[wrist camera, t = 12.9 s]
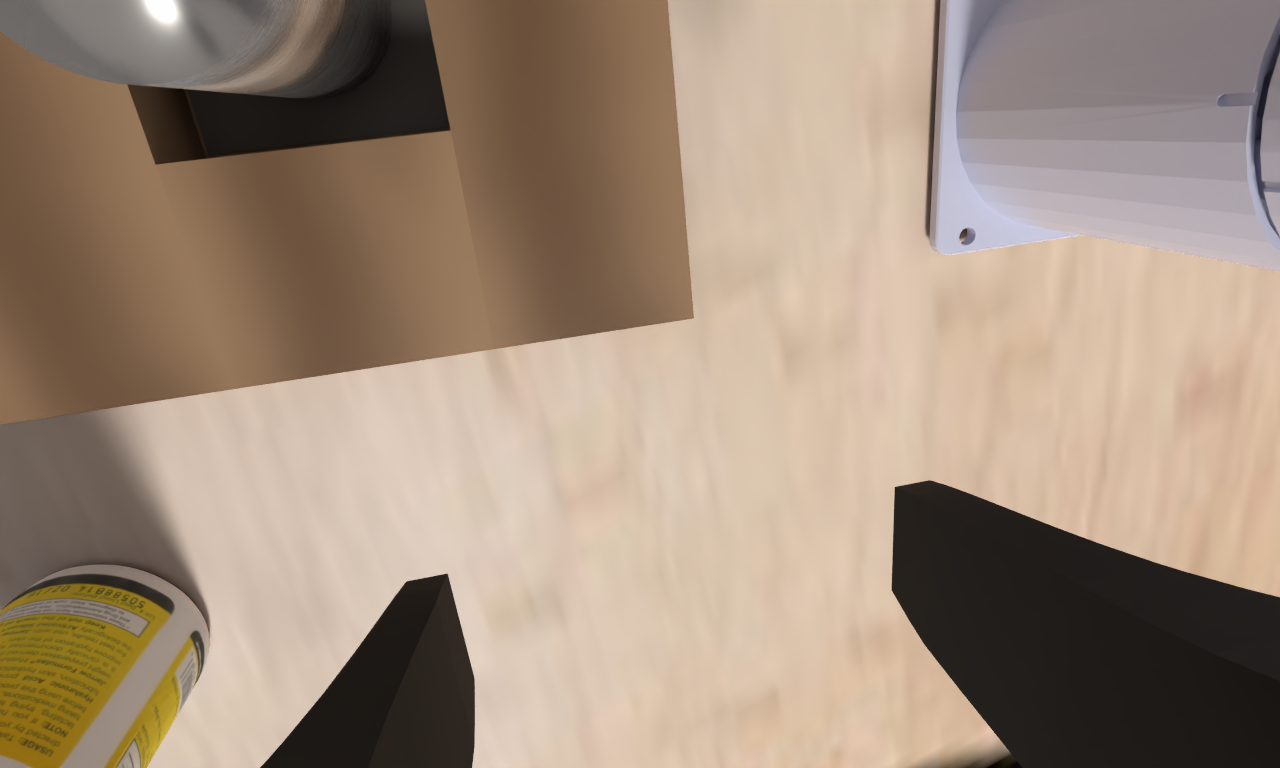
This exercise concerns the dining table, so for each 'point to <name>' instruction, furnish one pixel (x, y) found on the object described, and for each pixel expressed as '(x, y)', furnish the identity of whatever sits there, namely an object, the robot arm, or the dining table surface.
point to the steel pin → (209, 42)
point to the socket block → (340, 209)
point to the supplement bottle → (95, 668)
